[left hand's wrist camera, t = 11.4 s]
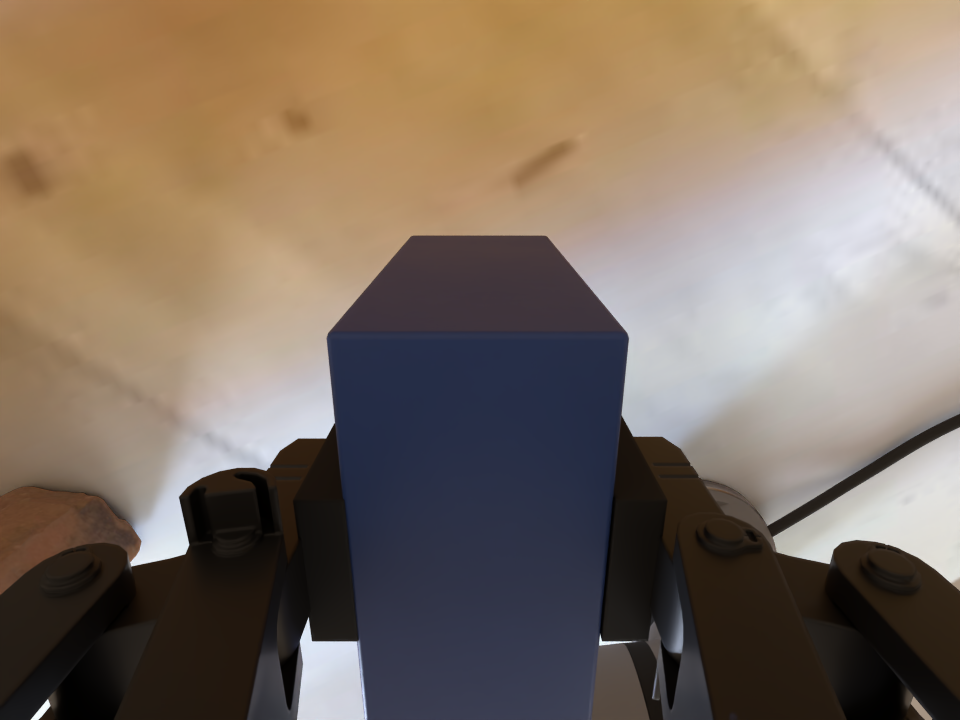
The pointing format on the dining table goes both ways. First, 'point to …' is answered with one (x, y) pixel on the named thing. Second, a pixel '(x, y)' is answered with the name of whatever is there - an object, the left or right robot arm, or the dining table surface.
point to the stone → (54, 528)
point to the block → (478, 478)
